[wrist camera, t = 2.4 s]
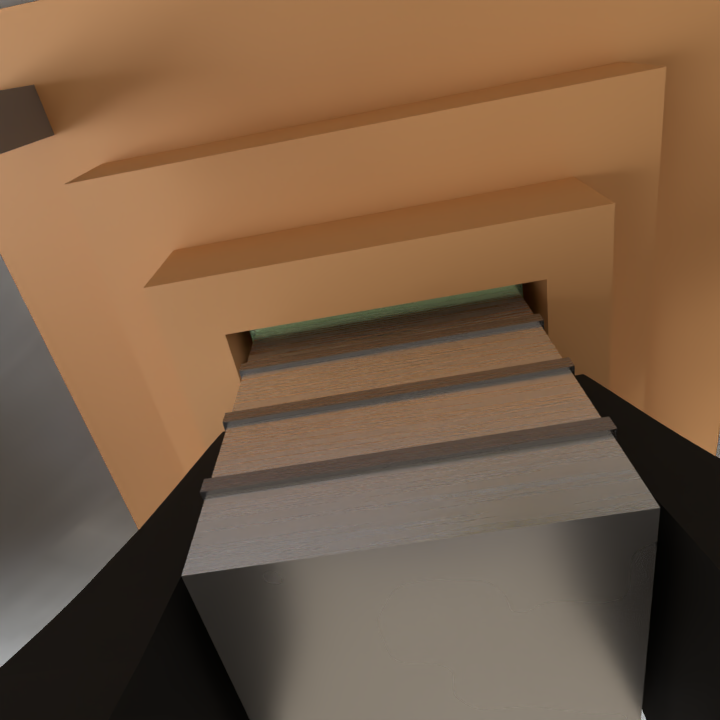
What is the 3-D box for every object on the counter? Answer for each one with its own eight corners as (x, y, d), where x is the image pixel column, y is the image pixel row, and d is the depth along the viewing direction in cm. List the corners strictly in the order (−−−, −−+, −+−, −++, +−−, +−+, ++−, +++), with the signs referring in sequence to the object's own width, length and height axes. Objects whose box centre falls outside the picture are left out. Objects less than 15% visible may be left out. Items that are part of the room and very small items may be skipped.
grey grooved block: (311, 496, 12) (285, 810, 7) (256, 308, 10) (170, 571, 5) (521, 465, 11) (643, 770, 7) (509, 264, 9) (671, 498, 5)
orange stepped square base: (188, 574, 17) (87, 916, 11) (-64, 33, 10) (-794, 35, 4) (680, 503, 16) (913, 834, 9) (755, -146, 9) (1741, -575, 3)
